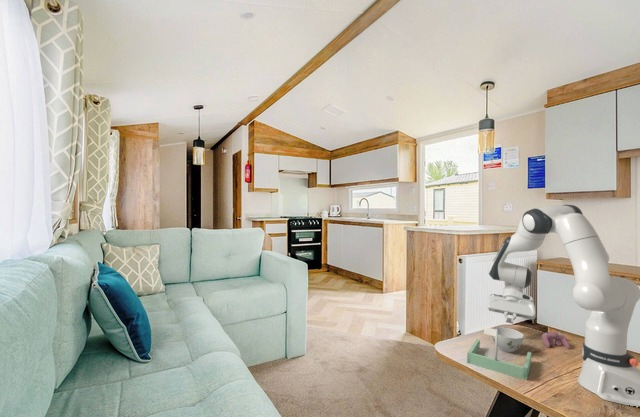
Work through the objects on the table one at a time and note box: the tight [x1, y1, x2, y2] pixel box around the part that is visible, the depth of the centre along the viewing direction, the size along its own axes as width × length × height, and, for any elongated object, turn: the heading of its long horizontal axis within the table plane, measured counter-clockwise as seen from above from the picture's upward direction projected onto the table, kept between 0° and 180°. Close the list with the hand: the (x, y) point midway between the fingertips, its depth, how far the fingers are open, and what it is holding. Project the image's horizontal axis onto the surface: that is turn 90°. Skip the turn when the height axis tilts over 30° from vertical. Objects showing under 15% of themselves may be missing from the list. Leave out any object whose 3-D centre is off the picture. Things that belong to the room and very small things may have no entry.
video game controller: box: [541, 331, 571, 350], centre depth 147 cm, size 10×5×7 cm, turn 85°
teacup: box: [490, 326, 525, 353], centre depth 143 cm, size 15×12×8 cm
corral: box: [466, 326, 532, 381], centre depth 130 cm, size 20×17×16 cm
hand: (509, 322), depth 153 cm, fingers closed
